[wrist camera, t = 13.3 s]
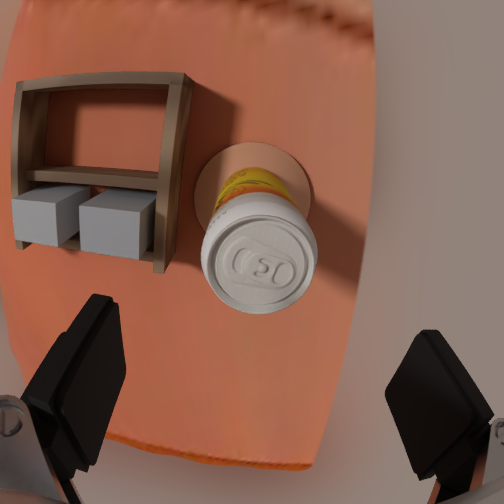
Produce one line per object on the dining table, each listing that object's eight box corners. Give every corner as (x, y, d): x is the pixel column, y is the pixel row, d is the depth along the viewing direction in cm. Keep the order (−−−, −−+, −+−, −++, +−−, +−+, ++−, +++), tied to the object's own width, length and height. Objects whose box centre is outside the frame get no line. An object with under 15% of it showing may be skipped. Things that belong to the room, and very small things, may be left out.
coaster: (202, 134, 27) (201, 134, 26) (319, 153, 28) (321, 153, 27) (190, 244, 31) (189, 247, 31) (296, 259, 32) (297, 261, 32)
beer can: (232, 156, 27) (220, 189, 14) (295, 179, 28) (342, 233, 14) (211, 217, 30) (184, 301, 16) (271, 237, 30) (293, 332, 17)
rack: (44, 84, 24) (16, 82, 19) (194, 81, 25) (184, 72, 20) (40, 232, 30) (16, 248, 26) (175, 251, 31) (163, 274, 27)
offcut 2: (111, 187, 29) (79, 205, 22) (162, 192, 29) (139, 212, 23) (110, 224, 30) (80, 250, 24) (159, 231, 31) (138, 259, 24)
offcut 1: (49, 182, 28) (11, 198, 22) (90, 185, 28) (55, 203, 22) (50, 217, 30) (15, 239, 23) (90, 222, 30) (58, 246, 24)
